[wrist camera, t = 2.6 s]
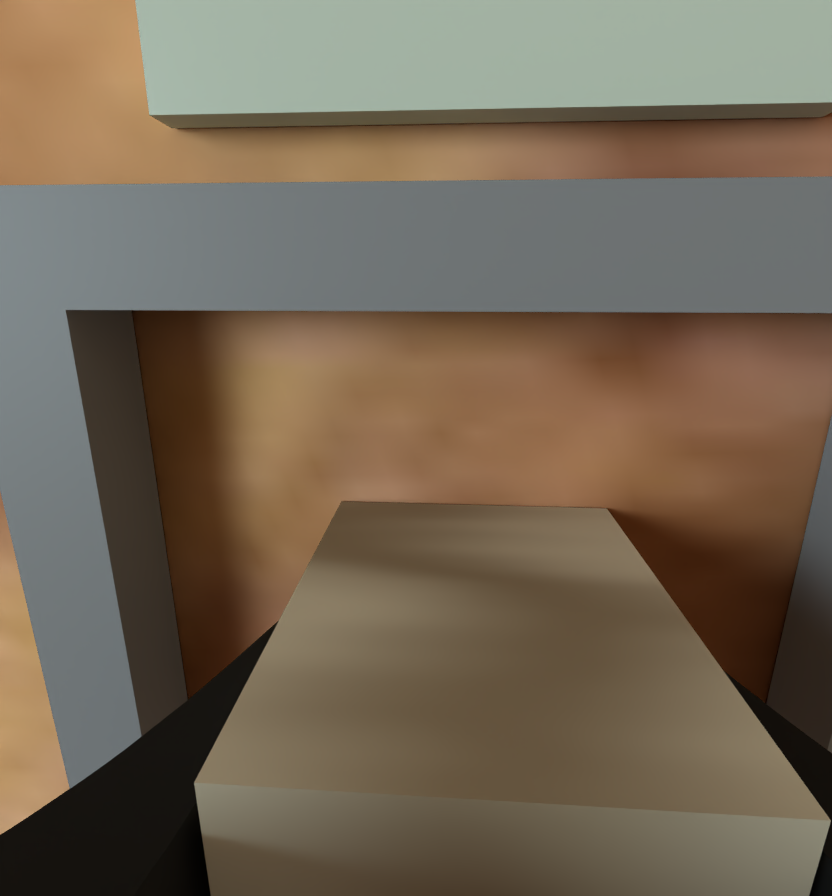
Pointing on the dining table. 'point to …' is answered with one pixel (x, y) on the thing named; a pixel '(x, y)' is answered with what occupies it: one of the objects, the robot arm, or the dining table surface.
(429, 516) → the maple block
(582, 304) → the frame
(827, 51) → the green pad
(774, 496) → the dining table surface
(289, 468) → the dining table surface
